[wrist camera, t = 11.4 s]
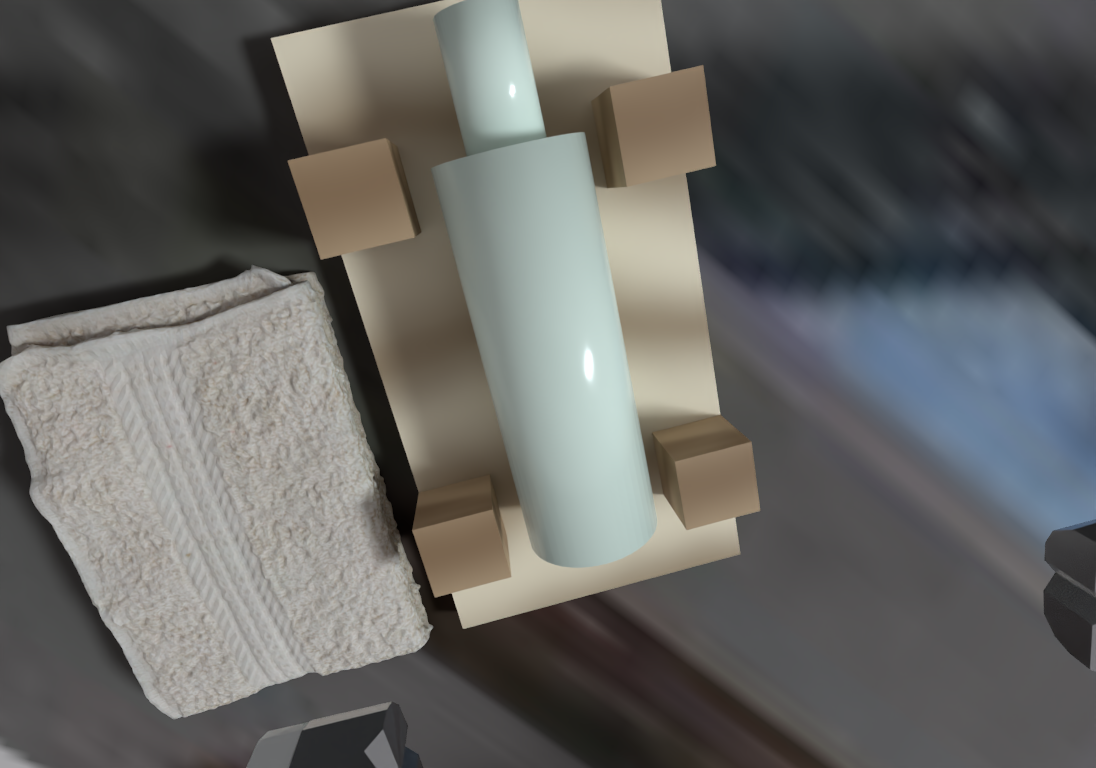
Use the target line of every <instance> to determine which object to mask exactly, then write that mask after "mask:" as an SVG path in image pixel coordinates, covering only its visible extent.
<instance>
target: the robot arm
mask: <svg viewBox="0 0 1096 768" xmlns="http://www.w3.org/2000/svg"><path fill="white" fill-rule="evenodd" d="M1045 561H1046V562H1047V563H1048V564H1049V565H1050V567H1051V568H1052V569H1053V570H1054V571H1055V572H1056V573H1055V574H1054V576H1053V577H1052V579H1051V580H1050V582H1049V583H1048V585H1047V586H1046V588H1045V589H1044V615H1045V617H1046V619H1047V621H1048V623H1049V625H1050V627H1051V629H1052V631H1053V633H1054V635H1055V637H1056V638H1057V639H1058V640H1059V642H1060V643H1061V644H1062V645H1063V646H1064V647H1065V649H1066V650H1067V651H1068V652H1069V653H1070V654H1071V655H1072V656H1074V657H1075V658H1076V659H1077V660H1079V661H1080V662H1081V663H1083V664H1084V665H1085V666H1086V667H1088V668H1089V669H1090V670H1093V671H1096V519H1095V520H1091V521H1087V522H1084V523H1080V524H1076V525H1072V526H1069V527H1065V528H1061V529H1057V530H1054V531H1053V532H1052V533H1051V535H1050V536H1049V538H1048V539H1047V541H1046V542H1045ZM407 728H408V725H407V723H406V720H405V718H404V716H403V713H402V711H401V708H400V706H399V704H396V703H394V702H388V703H384V704H380V705H376V706H371V707H367V708H363V709H358V710H354V711H350V712H345V713H341V714H337V715H333V716H328V717H324V718H320V719H315V720H311V721H310V722H308V723H302V724H298V725H294V726H289V727H285V728H281V729H276V730H272V731H268V732H267V733H266V734H265V735H264V736H263V737H262V738H261V739H260V740H259V741H258V743H257V744H256V747H255V749H254V751H253V754H252V756H251V758H250V761H249V763H248V765H247V768H423V766H422V763H421V760H420V757H419V755H418V754H417V753H415V752H414V751H412V750H410V749H409V748H407V747H405V743H406V735H407Z"/></svg>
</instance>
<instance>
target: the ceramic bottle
mask: <svg viewBox="0 0 1096 768" xmlns="http://www.w3.org/2000/svg"><path fill="white" fill-rule="evenodd" d="M433 22H434V26H435V30H436V34H437V38H438V42H439V46H440V50H441V54H442V58H443V62H444V67H445V71H446V75H447V79H448V83H449V87H450V91H451V95H452V99H453V103H454V107H455V111H456V115H457V119H458V123H459V127H460V131H461V135H462V139H463V143H464V147H465V151H466V155H467V157H463V158H459V159H456V160H453V161H449V162H446V163H443V164H440V165H437V166H435V167H432V168H431V172H432V176H433V179H434V183H435V187H436V191H437V194H438V198H439V202H440V206H441V209H442V213H443V217H444V221H445V224H446V228H447V232H448V236H449V239H450V243H451V247H452V251H453V254H454V258H455V262H456V266H457V269H458V273H459V277H460V281H461V284H462V288H463V292H464V296H465V299H466V303H467V307H468V311H469V314H470V318H471V322H472V326H473V329H474V333H475V337H476V341H477V344H478V348H479V352H480V356H481V359H482V363H483V367H484V371H485V374H486V378H487V382H488V386H489V389H490V393H491V397H492V401H493V404H494V408H495V412H496V416H497V419H498V423H499V427H500V431H501V434H502V438H503V442H504V446H505V449H506V453H507V457H508V461H509V464H510V468H511V472H512V476H513V479H514V483H515V487H516V491H517V494H518V498H519V502H520V506H521V509H522V513H523V517H524V521H525V524H526V528H527V532H528V536H529V539H530V543H531V547H532V549H533V551H534V552H535V553H536V555H537V556H538V557H540V558H541V559H542V560H544V561H546V562H548V563H551V564H554V565H558V566H562V567H572V568H582V567H593V566H599V565H603V564H607V563H611V562H614V561H617V560H619V559H622V558H624V557H626V556H628V555H630V554H632V553H633V552H635V551H637V550H638V549H640V548H641V547H642V546H643V545H645V544H646V543H647V542H648V541H649V539H650V538H651V537H652V535H653V534H654V532H655V530H656V527H657V515H656V509H655V504H654V499H653V493H652V488H651V483H650V477H649V472H648V467H647V461H646V456H645V451H644V445H643V440H642V435H641V430H640V424H639V419H638V414H637V408H636V403H635V398H634V392H633V387H632V382H631V376H630V371H629V366H628V360H627V355H626V350H625V344H624V339H623V334H622V328H621V323H620V318H619V312H618V307H617V302H616V296H615V291H614V286H613V280H612V275H611V270H610V264H609V259H608V254H607V249H606V243H605V238H604V233H603V227H602V222H601V217H600V211H599V206H598V201H597V195H596V190H595V185H594V179H593V174H592V169H591V163H590V158H589V153H588V147H587V142H586V137H585V132H578V133H570V134H564V135H558V136H553V137H546V132H545V127H544V122H543V117H542V112H541V108H540V103H539V98H538V93H537V88H536V83H535V79H534V74H533V69H532V64H531V59H530V54H529V50H528V45H527V40H526V35H525V30H524V25H523V20H522V16H521V11H520V6H519V1H518V0H465V1H462V2H459V3H456V4H453V5H451V6H449V7H447V8H445V9H443V10H441V11H440V12H438V13H437V14H436V15H435V16H434V18H433Z"/></svg>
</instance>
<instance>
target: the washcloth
mask: <svg viewBox="0 0 1096 768" xmlns="http://www.w3.org/2000/svg"><path fill="white" fill-rule="evenodd" d="M332 321H333V319H332V318H331V316H330V315H329V311H328V309H327V307H326V304H325V301H324V290H323V288H322V286H321V285H320V283H319V281H318V280H317V276H316V274H315V272H312V271H311V272H306V273H299V274H294V275H290V276H282V275H279V274H276V273H274V272H272V271H269V270H268V269H264V268H261V267H257V266H254V265H252V266H251V269H250V270H245V272H243V273H241V274H239V275H238V276H236V277H234V278H231V279H225V280H221V281H218V282H214V283H210V284H206V285H201V286H198V287H193V288H186V289H183V290H176V291H173V292H167V293H163V294H157V295H154V296H149V297H142V298H138V299H134V300H129V301H126V302H121V303H117V304H112V305H108V306H104V307H99V308H93V309H88V310H82V311H76V312H70V313H65V314H61V315H55V316H52V317H48V318H42V319H39V320H35V321H32V322H28V323H23V324H16V325H9V326H7V332H8V338H9V342H10V344H11V345H12V351H11V354H12V356H11V357H9V358H8V359H6V360H4V361H2V362H1V363H0V396H1V397H2V399H3V401H4V404H5V410H6V412H7V414H8V415H9V417H10V419H11V421H12V423H13V425H14V428H15V430H16V433H17V435H18V438H19V439H20V441H21V443H22V445H23V447H24V452H25V460H26V462H27V464H28V467H29V469H30V473H31V486H30V490H29V493H30V496H31V499H32V501H33V503H34V505H35V507H36V508H37V509H38V511H39V512H40V513H41V514H42V515H43V516H44V517H45V518H46V519H47V520H48V521H49V522H50V523H51V524H52V527H53V529H54V530H55V532H56V534H57V536H58V538H59V539H60V541H61V543H62V544H63V546H64V548H65V549H66V550H67V552H68V553H69V555H70V557H71V559H72V561H73V563H74V565H75V567H76V569H77V570H78V573H79V575H80V577H81V580H82V582H83V583H84V586H85V588H86V590H87V592H88V594H89V596H90V598H91V600H92V603H93V605H94V606H96V607H97V608H98V611H99V614H100V616H101V618H102V620H103V621H104V623H105V625H106V626H107V627H108V628H109V629H110V630H111V632H112V634H113V635H114V637H115V638H116V640H117V641H118V643H119V644H120V646H121V647H122V649H123V652H124V655H125V656H126V658H127V660H128V662H129V664H130V666H131V667H132V669H133V673H134V674H135V676H136V678H137V680H138V682H139V683H140V685H141V687H142V689H143V690H144V694H145V696H146V697H147V699H149V701H150V702H151V703H152V704H154V705H155V706H156V707H157V708H158V709H159V710H160V711H161V712H163V713H165V714H166V715H168V716H169V717H171V718H173V719H177V718H180V717H182V716H183V717H187V716H189V715H192V714H197V713H200V712H204V711H206V710H209V709H215V708H217V707H218V706H221V705H225V704H229V703H231V702H234V701H237V700H239V699H241V698H244V697H248V696H250V695H251V694H254V693H257V692H258V691H259V690H261V689H262V688H264V687H266V686H271V685H274V684H276V683H277V684H280V683H283V682H286V681H288V680H290V679H295V678H298V677H301V676H303V675H305V674H307V673H309V672H317V673H319V674H321V675H322V676H324V675H328V674H330V673H336V672H338V671H340V670H348V669H351V668H360V667H362V666H364V665H367V664H369V663H373V662H375V663H377V662H380V661H381V660H387V659H391V658H393V657H394V656H399V655H405V654H408V653H411V652H416V651H417V650H418V649H420V648H421V647H422V646H424V645H425V644H426V642H427V641H428V639H429V634H430V631H431V630H432V628H433V626H432V625H430V624H429V623H428V620H427V614H426V612H425V608H424V606H423V605H422V602H421V596H420V593H419V591H418V589H419V588H420V585H418V584H416V583H415V581H414V579H413V577H412V567H411V565H410V563H409V561H408V560H407V558H406V554H405V552H404V549H403V545H402V544H401V540H400V538H401V537H400V534H399V530H398V529H396V527H397V523H396V521H395V520H394V518H393V510H392V505H391V503H390V502H389V501H388V499H387V497H386V485H385V483H384V478H383V477H382V476H380V469H379V467H378V466H377V464H376V462H375V460H374V455H373V453H372V451H371V450H370V447H369V445H368V444H367V440H366V438H365V437H366V434H365V431H364V428H363V426H362V424H361V417H360V413H359V412H358V411H357V409H356V407H355V404H354V402H353V397H352V393H351V389H350V382H349V381H348V377H347V375H346V373H345V371H344V368H343V357H342V356H341V354H340V351H339V348H338V346H337V340H336V338H335V336H334V330H333V328H332V326H331V323H330V322H332ZM417 585H418V586H417Z"/></svg>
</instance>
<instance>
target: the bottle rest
mask: <svg viewBox="0 0 1096 768" xmlns="http://www.w3.org/2000/svg"><path fill="white" fill-rule="evenodd" d="M462 1H465V0H443V1H438V2H434V3H429V4H424V5H420V6H415V7H411V8H406V9H402V10H397V11H393V12H388V13H383V14H379V15H374V16H370V17H365V18H361V19H356V20H352V21H347V22H342V23H338V24H333V25H329V26H324V27H320V28H315V29H310V30H306V31H301V32H297V33H292V34H288V35H283V36H279V37H274V38H271V41H272V44H273V47H274V50H275V53H276V56H277V59H278V62H279V65H280V69H281V72H282V75H283V78H284V81H285V84H286V87H287V90H288V93H289V96H290V99H291V102H292V105H293V108H294V111H295V115H296V118H297V121H298V124H299V127H300V130H301V133H302V136H303V139H304V142H305V145H306V148H307V151H308V154H309V156H305V157H301V158H296V159H292V160H288V164H289V167H290V170H291V173H292V176H293V179H294V182H295V185H296V187H297V190H298V193H299V196H300V199H301V202H302V205H303V208H304V211H305V214H306V217H307V220H308V223H309V226H310V229H311V232H312V235H313V238H314V241H315V244H316V247H317V250H318V253H319V256H320V259H321V260H322V259H326V258H330V257H334V256H339V255H341V256H342V259H343V262H344V265H345V268H346V271H347V274H348V277H349V280H350V283H351V286H352V289H353V292H354V295H355V299H356V302H357V305H358V308H359V311H360V314H361V317H362V320H363V323H364V326H365V329H366V332H367V335H368V338H369V341H370V345H371V348H372V351H373V354H374V357H375V360H376V363H377V366H378V369H379V372H380V375H381V378H382V381H383V384H384V387H385V391H386V394H387V397H388V400H389V403H390V406H391V409H392V412H393V415H394V418H395V421H396V424H397V427H398V430H399V433H400V437H401V440H402V443H403V446H404V449H405V452H406V455H407V458H408V461H409V464H410V467H411V470H412V473H413V476H414V479H415V483H416V486H417V489H418V492H419V495H418V500H417V506H416V512H415V518H414V523H413V529H412V531H413V534H414V537H415V540H416V543H417V546H418V549H419V552H420V555H421V558H422V561H423V564H424V567H425V570H426V573H427V576H428V579H429V582H430V585H431V588H432V591H433V594H434V597H439V596H443V595H447V594H450V593H452V596H453V599H454V602H455V605H456V608H457V611H458V614H459V617H460V621H461V624H462V627H463V629H465V628H469V627H472V626H476V625H480V624H484V623H487V622H491V621H495V620H498V619H502V618H506V617H509V616H513V615H517V614H520V613H524V612H528V611H532V610H535V609H539V608H543V607H546V606H550V605H554V604H557V603H561V602H565V601H569V600H572V599H576V598H580V597H583V596H587V595H591V594H594V593H598V592H602V591H606V590H609V589H613V588H617V587H620V586H624V585H628V584H631V583H635V582H639V581H642V580H646V579H650V578H654V577H657V576H661V575H665V574H668V573H672V572H676V571H679V570H683V569H687V568H691V567H694V566H698V565H702V564H705V563H709V562H713V561H716V560H720V559H724V558H727V557H731V556H735V555H739V554H740V548H739V541H738V534H737V527H736V520H735V517H738V516H742V515H746V514H750V513H753V512H757V511H760V505H759V497H758V490H757V482H756V474H755V466H754V458H753V451H752V443H751V441H750V440H749V439H748V438H746V437H745V436H744V435H743V434H742V433H741V432H740V431H738V430H737V429H736V428H735V427H734V426H733V425H731V424H730V423H729V422H728V421H727V420H726V419H725V418H723V417H722V416H721V415H720V409H719V402H718V395H717V388H716V381H715V374H714V367H713V360H712V353H711V346H710V339H709V333H708V326H707V319H706V312H705V305H704V298H703V291H702V284H701V277H700V270H699V263H698V256H697V249H696V242H695V235H694V228H693V221H692V214H691V207H690V200H689V193H688V186H687V179H686V173H687V172H692V171H696V170H700V169H704V168H708V167H713V166H716V162H715V154H714V147H713V139H712V131H711V123H710V115H709V108H708V100H707V92H706V84H705V76H704V69H703V65H702V66H698V67H693V68H689V69H684V70H680V71H676V72H671V68H670V61H669V54H668V47H667V40H666V33H665V26H664V19H663V12H662V5H661V0H518V1H519V6H520V11H521V16H522V20H523V25H524V30H525V35H526V40H527V45H528V50H529V54H530V59H531V64H532V69H533V74H534V79H535V83H536V88H537V93H538V98H539V103H540V108H541V112H542V117H543V122H544V127H545V132H546V137H553V136H558V135H564V134H570V133H578V132H585V137H586V142H587V147H588V153H589V158H590V163H591V169H592V174H593V179H594V185H595V190H596V195H597V201H598V206H599V211H600V217H601V222H602V227H603V233H604V238H605V243H606V249H607V254H608V259H609V264H610V270H611V275H612V280H613V286H614V291H615V296H616V302H617V307H618V312H619V318H620V323H621V328H622V334H623V339H624V344H625V350H626V355H627V360H628V366H629V371H630V376H631V382H632V387H633V392H634V398H635V403H636V408H637V414H638V419H639V424H640V430H641V435H642V440H643V445H644V451H645V456H646V461H647V467H648V472H649V477H650V483H651V488H652V493H653V499H654V504H655V509H656V515H657V527H656V530H655V532H654V534H653V535H652V537H651V538H650V539H649V541H648V542H647V543H646V544H645V545H643V546H642V547H641V548H640V549H638V550H637V551H635V552H633V553H632V554H630V555H628V556H626V557H624V558H622V559H619V560H617V561H614V562H611V563H607V564H603V565H599V566H593V567H582V568H572V567H562V566H558V565H554V564H551V563H548V562H546V561H544V560H542V559H541V558H540V557H538V556H537V555H536V553H535V552H534V551H533V549H532V547H531V543H530V539H529V536H528V532H527V528H526V524H525V521H524V517H523V513H522V509H521V506H520V502H519V498H518V494H517V491H516V487H515V483H514V479H513V476H512V472H511V468H510V464H509V461H508V457H507V453H506V449H505V446H504V442H503V438H502V434H501V431H500V427H499V423H498V419H497V416H496V412H495V408H494V404H493V401H492V397H491V393H490V389H489V386H488V382H487V378H486V374H485V371H484V367H483V363H482V359H481V356H480V352H479V348H478V344H477V341H476V337H475V333H474V329H473V326H472V322H471V318H470V314H469V311H468V307H467V303H466V299H465V296H464V292H463V288H462V284H461V281H460V277H459V273H458V269H457V266H456V262H455V258H454V254H453V251H452V247H451V243H450V239H449V236H448V232H447V228H446V224H445V221H444V217H443V213H442V209H441V206H440V202H439V198H438V194H437V191H436V187H435V183H434V179H433V176H432V172H431V168H432V167H435V166H437V165H440V164H443V163H446V162H449V161H453V160H456V159H459V158H463V157H467V155H466V151H465V147H464V143H463V139H462V135H461V131H460V127H459V123H458V119H457V115H456V111H455V107H454V103H453V99H452V95H451V91H450V87H449V83H448V79H447V75H446V71H445V67H444V62H443V58H442V54H441V50H440V46H439V42H438V38H437V34H436V30H435V26H434V22H433V18H434V16H435V15H436V14H437V13H438V12H440V11H441V10H443V9H445V8H447V7H449V6H451V5H453V4H456V3H459V2H462Z"/></svg>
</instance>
